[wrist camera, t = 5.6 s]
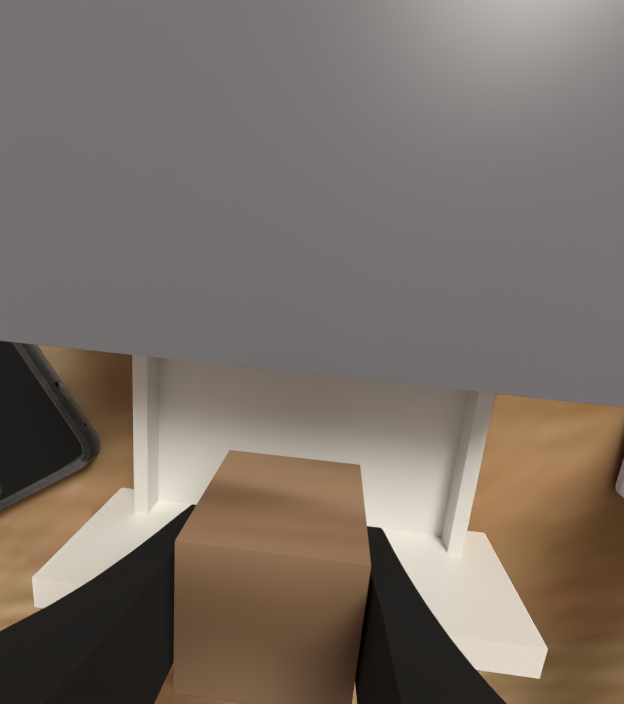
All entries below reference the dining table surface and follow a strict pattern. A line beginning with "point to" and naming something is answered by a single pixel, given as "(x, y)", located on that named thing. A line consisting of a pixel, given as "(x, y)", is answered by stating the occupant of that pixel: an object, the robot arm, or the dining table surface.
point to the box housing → (321, 187)
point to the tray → (327, 445)
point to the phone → (37, 425)
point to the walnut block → (272, 583)
